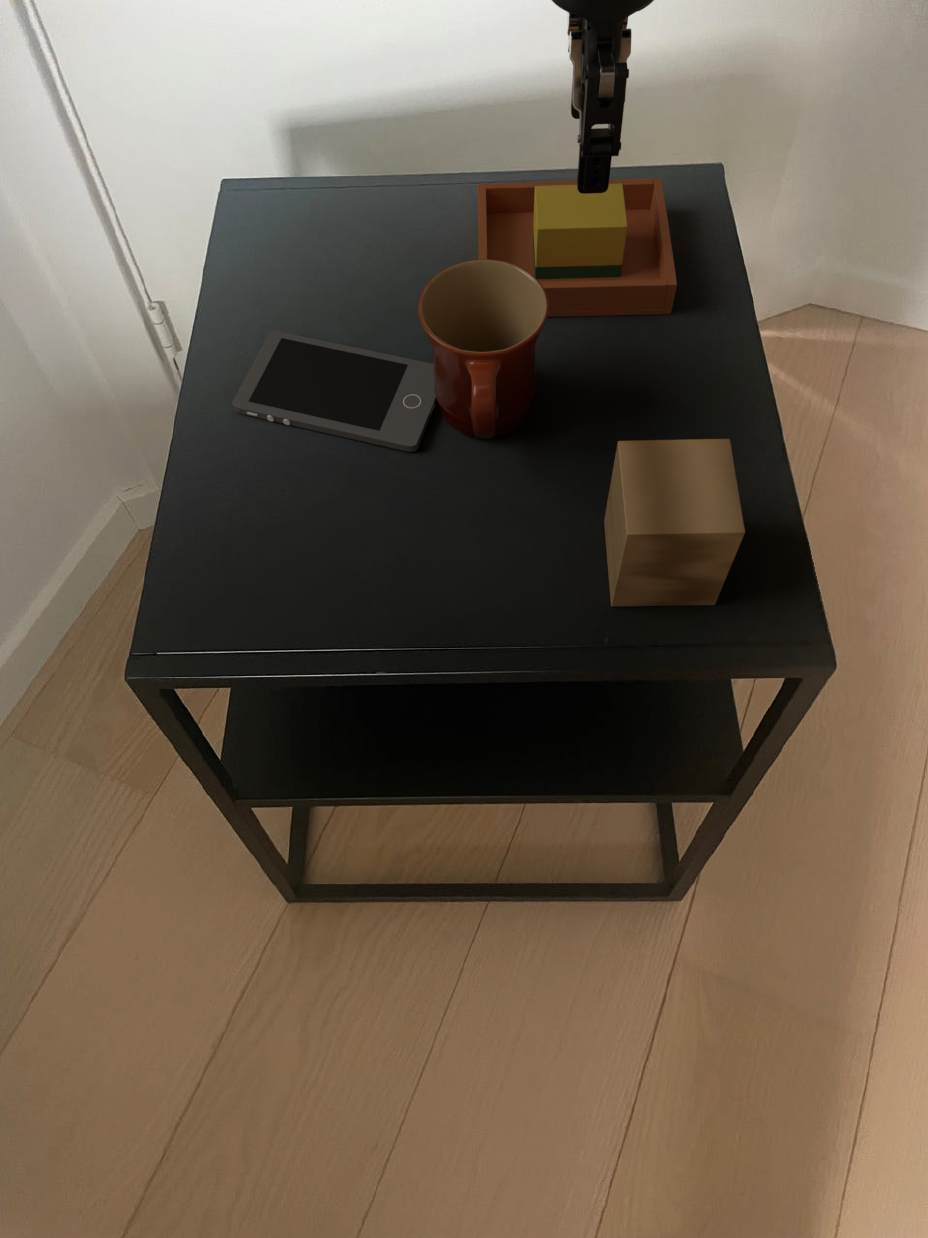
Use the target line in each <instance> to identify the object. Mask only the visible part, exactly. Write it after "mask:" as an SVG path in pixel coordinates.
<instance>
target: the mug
mask: <svg viewBox="0 0 928 1238" xmlns="http://www.w3.org/2000/svg"><path fill="white" fill-rule="evenodd" d="M417 305H418V309H417V311H418V318H419V321H420V325H421V326H422V328H423V330H424V333H425V334H426V336H427V337H428V340H429V342H430V345H431V348H432V353H433V354H432V357H433V360H432V361H433V362H432V364H433V365H434V381H435V383H434V390H435V395H436V398H437V403H438V406H439V409H440V412H441V415H442V416H443V418H444V419H445V421H446V422H447V423H448V425H450V426H451V427H452V428H454V430H456V431H458V432H459V433H462V434H463V435H465V436H469V437H473V438H476V439H480V440H489V439H493V438H495V437H500V436H501V437H502V436H504V435H506V434H508V433H509V432H512V431H513V430H514V429H516V428H517V427H519V426H520V425H521V424H522V423H523V422H524V420H525V419H526V418H527V416H528V414H529V412H530V409H531V406H532V404H533V400H534V397H535V393H536V385H537V383H536V367H537V366H536V365H537V364H536V346H537V341H538V339H539V338H540V335H541V332H542V331H543V328H544V326H545V324H546V323H547V319H548V317H547V316H548V310H549V304H548V298H547V294H546V292H545V290H544V288H543V286H542V285H541V283H540V282H539V281H538V280H537V279H536V278H535V277H534V276H533V275H532V274H531V273H529V272H528V271H526V270H525V269H523V268H521V267H519V266H517V265H514V264H511V263H508V262H504V261H499V260H491V259H479V258H478V259H472V260H465V261H462V262H458V263H456V264H453V265H451V266H448V267H446V268H445V269H442V270H441V271H440V272H438V273H436V275H435V276H433V277H432V278H431V279H430V280H429V281H428V282H427V284H426V285H425V286H424V288H423V290H422V292H421V294H420V296H419V300H418V304H417Z"/></svg>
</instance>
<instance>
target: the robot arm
mask: <svg viewBox="0 0 928 1238" xmlns="http://www.w3.org/2000/svg"><path fill="white" fill-rule="evenodd" d="M654 1H655V0H551V2H552V3H553V4H554V5H556V6H557V7H558V8H560V10H563V11H565V12H567V13H566V14H567V15H566V16H567V17H566V19H567V27H566V28H567V33H566V34H567V53H568V56H569V61H570V62H571V65H572V84H571V97H570V99H571V100H570V114H571V117H572V118H573V119H575V120H578V121H579V123H578V124H579V126H578V128H579V131H578V134H577V140H576V141H577V144H578V147H579V150H578V163H577V175H576V176H577V177H576V181H577V188H578V191H579V192H580V193H582V194H591V193H604V192H606V191H607V189H608V186H609V180H610V178H611V177H610V175H611V168H612V166H611V165H612V159H613V158H612V157H619V155H620V151H621V150H622V141H621V138H622V130H623V129H622V128H623V121H624V120H623V119H624V110H625V103H626V94H627V93H626V92H627V81H628V79H629V77H630V69H629V68H628V59H629V58H630V56H631V53H632V28H628V24H629V17H630V16H632V15H634V14H635V13H637V12H640V11H643V10H644V9H645V8H647V7H648V6H650V5H651V4H652V3H653V2H654ZM596 125H607V127H600V128H599V127H597V128H593V127H594V126H596Z"/></svg>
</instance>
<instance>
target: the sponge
mask: <svg viewBox="0 0 928 1238" xmlns="http://www.w3.org/2000/svg"><path fill="white" fill-rule="evenodd" d="M627 228H628V225H627V217H626V208H625V200H624V191H623V184H609V186H608V189H607V191H606V192H604V193H591V194H582V193H580V192H579V191H578V188H577V185H555V186H535V195H534V221H533V250H534V270H535V278H536V279H559V278H598V277H620V276H621V270H622V263H623V256H624V249H625V242H626V235H627Z"/></svg>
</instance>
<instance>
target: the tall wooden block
mask: <svg viewBox="0 0 928 1238" xmlns="http://www.w3.org/2000/svg"><path fill="white" fill-rule="evenodd" d="M616 444H617V445H616V449H615V455H614V462H613V466H612V467H613V468H612V472H611V480H610V484H609V491H608V495H607V501H606V502H607V503H606V507H605V514H604V520H603V525H604V537H605V550H606V551H605V552H606V561H607V572H608V586H609V598H610V606H611V607H612V608H613V607H614V608H615V607H668V606H669V607H670V606H671V607H672V606H674V607H675V606H715V605H716V604H717V601H718V598H719V597H720V594H721V591H722V589H723V587H724V585H725V582H726V580H727V577H728V575H729V573H730V570H731V567H732V564H733V562H734V560H735V558H736V555H737V553H738V551H739V549H740V546H741V543H742V541H743V539H744V536H745V533H746V529H745V523H744V517H743V510H742V504H741V497H740V492H739V486H738V479H737V474H736V468H735V467H736V466H735V462H734V454H733V449H732V441H731V439H730V438H702V439H701V438H695V439H694V438H693V439H692V438H691V439H649V440H648V439H647V440H644V439H643V440H618V441H617V443H616Z"/></svg>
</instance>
